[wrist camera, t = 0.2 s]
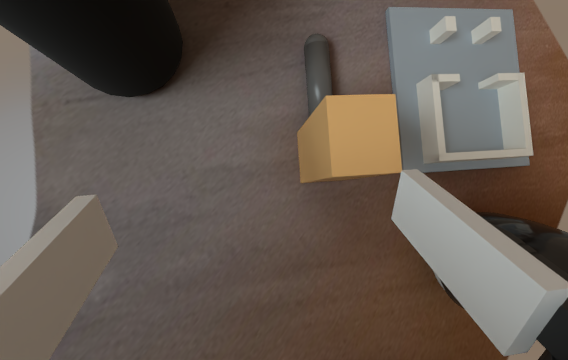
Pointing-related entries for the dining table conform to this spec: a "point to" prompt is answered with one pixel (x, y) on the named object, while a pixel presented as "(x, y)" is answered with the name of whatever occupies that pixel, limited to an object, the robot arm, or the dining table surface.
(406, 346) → the dining table surface
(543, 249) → the dark grey egg shape
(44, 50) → the coffee jar
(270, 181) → the dining table surface
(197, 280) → the dining table surface
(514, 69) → the board
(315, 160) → the plug
